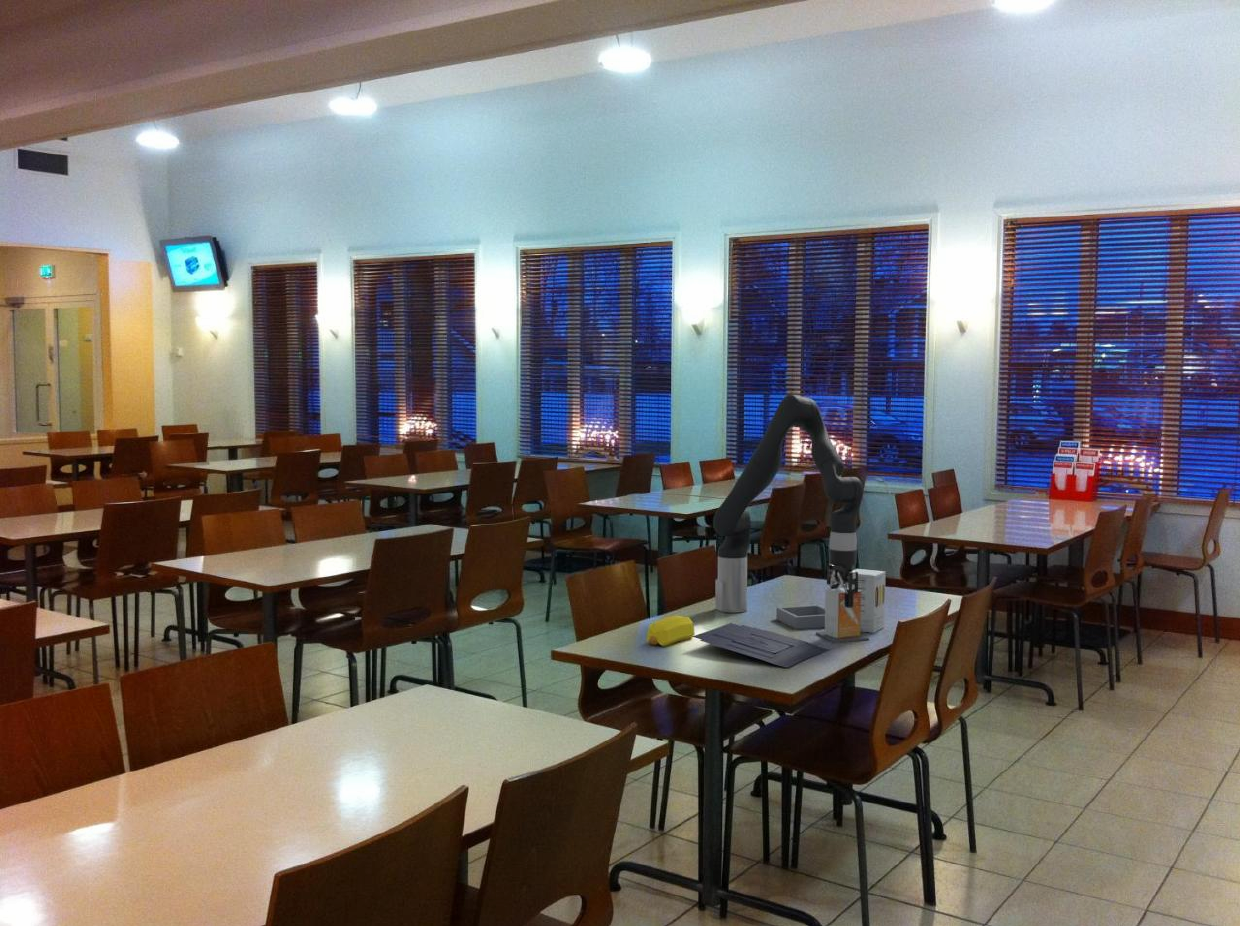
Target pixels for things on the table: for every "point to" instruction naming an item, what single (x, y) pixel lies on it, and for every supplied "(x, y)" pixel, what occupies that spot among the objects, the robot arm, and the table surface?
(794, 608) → the grey bin
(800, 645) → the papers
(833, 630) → the small box
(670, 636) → the yellow faceted capsule
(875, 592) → the supplement box
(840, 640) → the charcoal mat
